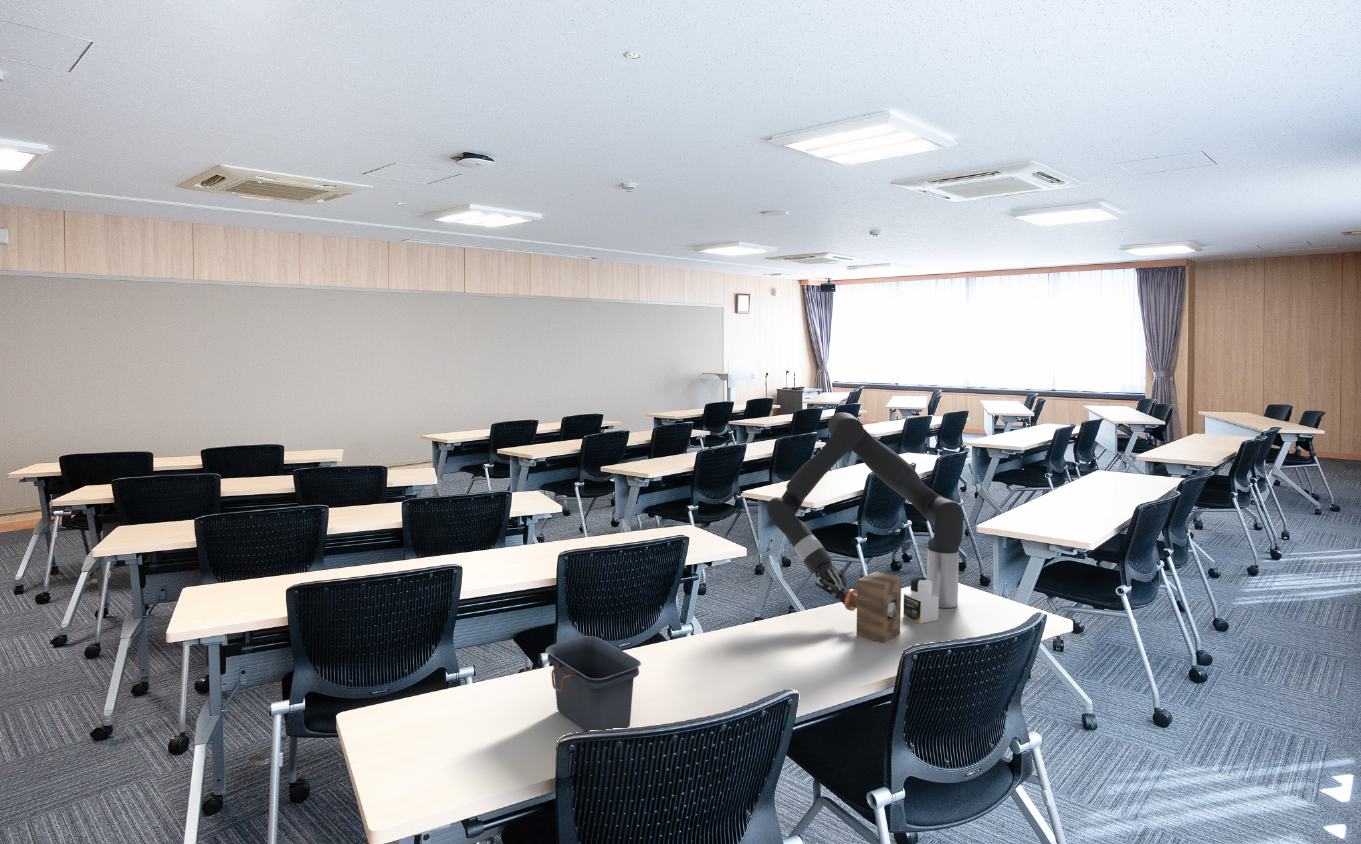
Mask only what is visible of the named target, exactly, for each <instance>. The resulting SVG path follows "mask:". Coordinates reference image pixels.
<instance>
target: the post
mask: <svg viewBox="0 0 1361 844" xmlns="http://www.w3.org/2000/svg"><path fill="white" fill-rule="evenodd" d="M856 581H857V582H856V583H857V587H856V590H857V608H856V635H857V637H859V636H861V637H860V638H863V639H866V638H868V639H867V640H870V641H874V640H875V641H874V642H878V643H881V644H884V643H885V641H886V642H887V641H889V640H890V638H891V639H892V638H894V637H896V636H898V635H899V634H901V614H902V613H901V612H902V611H901V609H902V608H901V607H902V606H901V604H902V603H901V602H902V600H901V599H902V576H897V575H891V574H887V573H882V572H878V571H873V572H872V573H871V572H870V573H869V574H867V575H865V576H862V577H860V578H858V579H856ZM889 602H894V603H895V604H896V612H895V614H894V616H893V617H889V616H888V603H889ZM897 634H898V635H897ZM856 635H855V636H856ZM893 636H894V637H893Z"/></svg>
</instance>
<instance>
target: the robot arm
mask: <svg viewBox="0 0 1361 844" xmlns="http://www.w3.org/2000/svg"><path fill="white" fill-rule="evenodd" d="M827 429H828V433H829V435H830V436H829V438H828V440H827V441H826V443H825V444H824V446H823V447H822V448H821V449H820V450H819V451H817V453H816V454H815V455H813V457H811V458H809V460H807V461H806V462H805V463H803V464H802V466H800V468H799V469H797V471H796V472H795V473H794V475H792V476H791V479H790V480H789V481H788V483H786V486H785V487H786V490H785V492H784V493H782V496H781V497H773V498H771V499H770V500H769V501H768V502H767V504H766V514H767V516H768V518H770V519H769V520H771V521H772V523H773V524H774V525H775V526H776V527H777V529H779V531H781V533H783V534H784V536H785V537H786V539H787V541H789V543H790V544H791V546H792V548H794V550H795V552H796V554H797V555H798V557H799V558H800V560H801V561H802V563H803V564H804V566H805V568H807V569H808V572H809V573H810V574H813V575H815V577H816V579H817V580H816V581H815V582H814V583H815V586H816V587H818V588H820V589H821V590H823V591H825V592H826V593H828V594H829V595H831V596H832V595H835V596H837V598H838V599H839V600H840V602H841V603H842V604H843V605H844V606H845V596H846V593H847V592H848V591H846V590H845V589H846V587H847V586H848V584H847V580H846V574H845V571H844V570H843V569H841V570H838V569H837V568H836V566H835V565H834V564H832V559H833V558H832V557H831V555H830V554H829V553H828V551H827V550H826V549H825V547H824V546H823V544H822V543H821V541H820V540H819V539H818V538H817V537H816V536H815V535H814V534H813V532H812V531H811V530H810V528H809V527H808V526H807V524H806V523H805V522H804V521H802V520H800V519H799V517H797V515H796V514H797V513H798V512H799V510H800V508H801V506H802V505H803V503H804V501H805V499H806V498H807V497H808V496H809V494H810V493H811V492H812V491H813V490H814V488H815V487H817V486H816V485H818V483H819V482H820V481H821V480H822V479H823V477H824V476H825V475H826V474H827V473H828V472H829V471H830V470H831V468H832V467H834V466H835V464H836V463H838V461H840V460H841V459H842V458H843V457H844V456H845V455H846V454H847V453H848V452H850V450H851V451H852V452H853V453H854V454H855V455H857V457H859V458H860V460H861V461H862V462H863V463H864V464H865V465H866V467H868V469H870V471H871V472H873V474H874V475H875V476H876V477H877V478H878V479H879V480H881V482H883V483H884V484H885V485H886V486H887V487H889V488H890V489H891V490H893V491H894V492H895V493H897V494H898V495H899V496H901V497H902V498H904V499H905V500H907V501H908V502H909V503H910V504H911V505H912V506H913V507H914V508H915V509H916V510H917V511H918V512H919V514H921V515H922V516H923V517H924V519H925V520H926V521H927V522H928V523H930V524H931V525H932V526H934V530H933V531H934V533H933V537H931V538H930V539H928V540H927V557H926V558H927V564H926V567H927V569H926V578H927V579H929V580H931V581H932V595H935V596H937V597H938V598H939V602H938V609H939V608H940V609H952V608H956V607H958V602H959V601H958V600H959V599H958V598H959V597H958V596H959V570H960V569H959V567H960V566H959V565H960V564H959V563H960V560H959V559H960V546H961V543H962V542H963V533H964V511H963V508H962V506H961V505H960V504H959V503H958V502H957V501H954V500H951V499H949V498H945V497H943V496H942V495H940V494H938V493H936V492H935V491H934V490H933V489H932V488H930V487H929V486H927V485H926V483H924V481H923V480H922V479H921V477H920V476H919V474H918V473H917V471H916V470H915V468H914V467H912V466H911V464H910V463H909V462H907V461H906V460H905V459H904V458H903V457H902V456H900V455H899V454H897V452H895V451H894V450H893V449H892V448H889V447H888V446H887V445H885V444H884V443H882V442H881V441H879V440H878V439H876V438H875V437H874V436H872V435H871V434H870V433H869V432H868V431H867V429H865V428H864V426H863V423H862V421H861V420H859V419H858V418H857V417H856V416H855V415H853V414H851V413H848V412H841V411H840V412H837V413H834V414H833V415H831V416H830V418H829V420H828V423H827Z"/></svg>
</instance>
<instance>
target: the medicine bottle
mask: <svg viewBox="0 0 1361 844" xmlns="http://www.w3.org/2000/svg"><path fill="white" fill-rule="evenodd" d="M938 602H939V598H938V597H937V596H935V595H932V581H931V580H929V579H927V577H924V576H923V577H922V576H918V577H917V576H916V577H913V578H911V579H910V592H906V593H904V594H903V612H902V613H903V617H904V618H906V619H907V620H908V619H909V620H911V621H913V622H915V623H917V624H921V625H922V624H926V623H931V622H937V621H938V620H939V607H938Z"/></svg>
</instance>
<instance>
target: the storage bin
mask: <svg viewBox="0 0 1361 844" xmlns="http://www.w3.org/2000/svg"><path fill="white" fill-rule="evenodd" d="M545 653H546V654H548V655H547V661H548V662H549V663H551V665H552V667H553V669H552V671H551V673H550V675H551V683H552V684H551V685H552V687H553V689H554V690H555V699H556V707H557V708H556V709H557V711H559V713H560V714H563V715H564V716H565V717H566V718H568V719H569V720H571V721H572V722H574V724H576V725H577V726H579V727H580V728H582V729H583V730H584V731H585V732H587V731H590V730H606V729H613V728H626V729H627V727H628V728H629V727H630V725H631V719H632V718H631V716H632V706H633V705H632V704H633V703H632V702H633V691H634V690H633V689H634V680H635V679H634V678H637V677H638V676H639V674H640V670H639V667H640V666H641V665H642V662H641V661H640V660H639V659H637V658H635V657H634V656H632V655H630V654H628V653H627V652H626V651H624V650H622V649H620V648H618V647H616V646H614V645H613V644H611V643H609V642H608V641H605V640H603V639H602V638H600V637H598V636H594V635H584V636H580V637H575V638H572V639H569V640H565V641H561V642H558V643H554V644H551V645H549V646H548V647H546V648H545Z"/></svg>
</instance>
